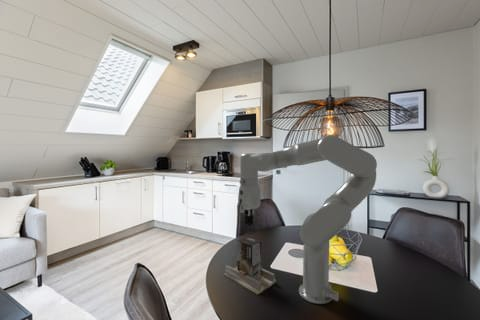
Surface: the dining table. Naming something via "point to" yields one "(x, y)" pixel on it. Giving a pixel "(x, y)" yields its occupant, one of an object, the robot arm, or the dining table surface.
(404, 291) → the dining table surface
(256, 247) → the coffee box
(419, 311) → the dining table surface
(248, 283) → the rail
